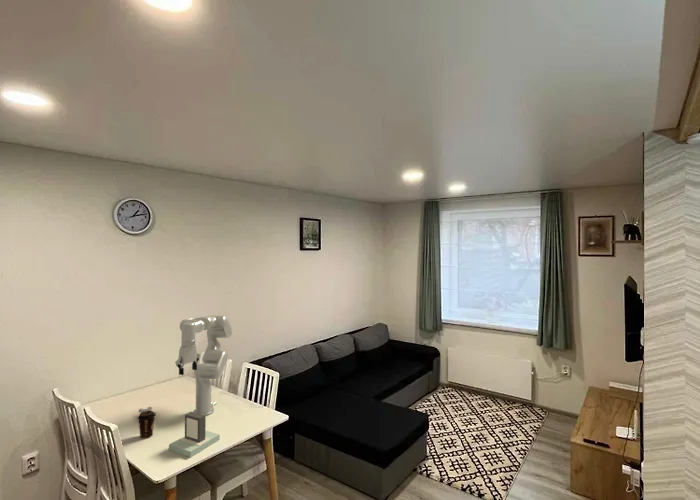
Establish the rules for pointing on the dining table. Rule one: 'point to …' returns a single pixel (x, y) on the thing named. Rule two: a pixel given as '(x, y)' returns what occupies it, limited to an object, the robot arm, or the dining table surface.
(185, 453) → the sage stand
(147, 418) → the coffee cup
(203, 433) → the picture frame
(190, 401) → the dining table surface
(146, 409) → the bunny figurine
